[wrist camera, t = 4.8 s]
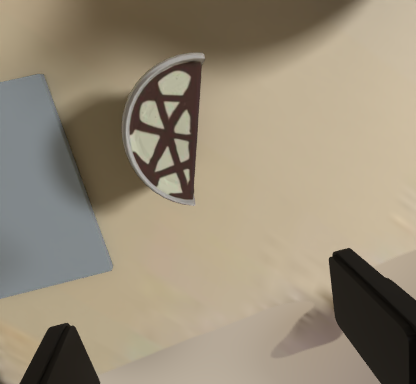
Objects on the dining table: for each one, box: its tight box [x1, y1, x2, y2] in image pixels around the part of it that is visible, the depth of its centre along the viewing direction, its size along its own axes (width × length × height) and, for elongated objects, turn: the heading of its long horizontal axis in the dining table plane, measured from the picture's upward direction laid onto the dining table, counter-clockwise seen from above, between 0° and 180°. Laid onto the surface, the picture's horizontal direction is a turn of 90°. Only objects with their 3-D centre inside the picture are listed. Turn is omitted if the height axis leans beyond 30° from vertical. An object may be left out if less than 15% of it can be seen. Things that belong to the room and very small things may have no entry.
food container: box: [122, 53, 205, 206], centre depth 28 cm, size 12×6×10 cm, turn 176°
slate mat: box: [0, 74, 113, 299], centre depth 33 cm, size 22×16×1 cm
